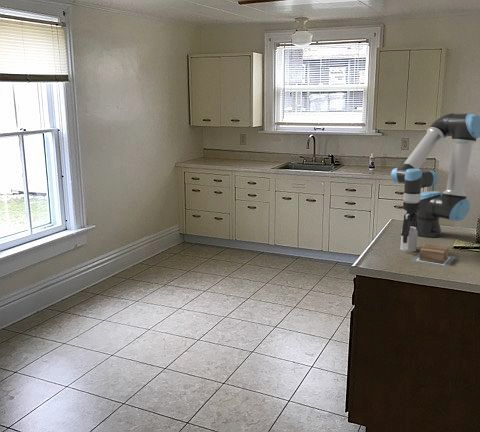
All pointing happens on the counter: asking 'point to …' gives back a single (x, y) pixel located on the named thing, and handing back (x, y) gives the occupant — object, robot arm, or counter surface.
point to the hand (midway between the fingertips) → (408, 246)
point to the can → (411, 240)
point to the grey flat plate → (445, 263)
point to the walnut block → (433, 254)
